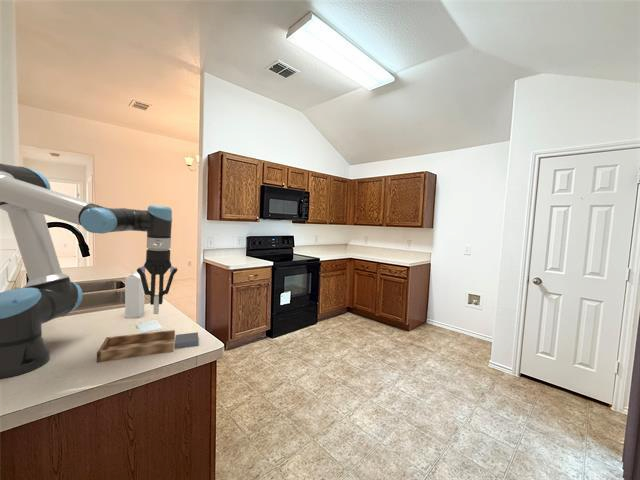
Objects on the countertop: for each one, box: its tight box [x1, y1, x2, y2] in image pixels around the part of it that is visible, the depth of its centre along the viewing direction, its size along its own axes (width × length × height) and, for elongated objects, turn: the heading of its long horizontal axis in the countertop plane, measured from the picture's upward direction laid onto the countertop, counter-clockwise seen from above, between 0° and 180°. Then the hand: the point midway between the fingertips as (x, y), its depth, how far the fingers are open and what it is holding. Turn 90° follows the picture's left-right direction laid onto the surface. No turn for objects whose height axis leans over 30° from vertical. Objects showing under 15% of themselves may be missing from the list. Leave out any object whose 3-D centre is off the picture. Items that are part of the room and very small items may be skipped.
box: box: [96, 329, 176, 363], centre depth 101 cm, size 22×12×4 cm, turn 115°
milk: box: [124, 269, 145, 319], centre depth 133 cm, size 6×6×22 cm
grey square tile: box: [174, 331, 200, 350], centre depth 108 cm, size 8×8×2 cm
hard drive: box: [135, 319, 165, 334], centre depth 121 cm, size 2×8×12 cm
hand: (156, 312), depth 103 cm, fingers closed
